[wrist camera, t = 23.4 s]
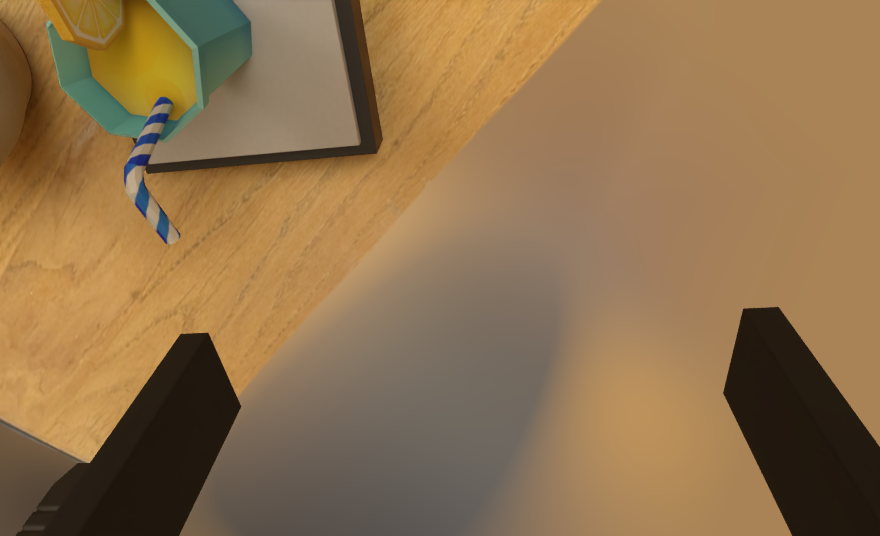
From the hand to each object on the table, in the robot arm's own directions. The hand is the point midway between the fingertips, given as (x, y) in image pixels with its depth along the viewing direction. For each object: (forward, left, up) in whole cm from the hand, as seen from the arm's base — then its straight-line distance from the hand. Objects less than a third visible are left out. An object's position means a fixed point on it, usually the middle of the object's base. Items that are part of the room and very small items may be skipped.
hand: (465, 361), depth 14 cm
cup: (+16, -4, -27) cm, 32 cm away
